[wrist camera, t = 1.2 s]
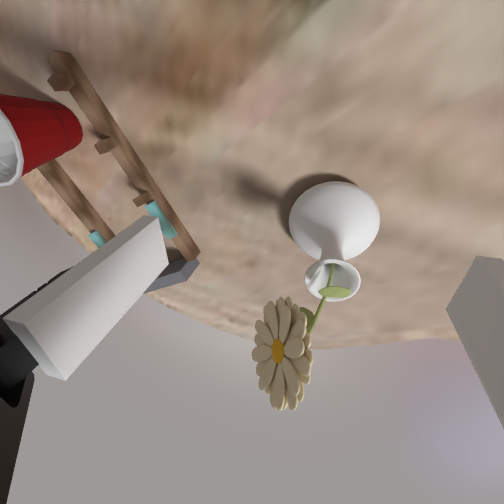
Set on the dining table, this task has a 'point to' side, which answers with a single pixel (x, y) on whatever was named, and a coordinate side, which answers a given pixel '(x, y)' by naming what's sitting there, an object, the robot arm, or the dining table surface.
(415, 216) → the dining table surface
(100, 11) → the dining table surface
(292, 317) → the flower in vase
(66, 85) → the comb channel
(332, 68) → the dining table surface
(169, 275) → the end stop
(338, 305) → the dining table surface
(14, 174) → the plastic cup
